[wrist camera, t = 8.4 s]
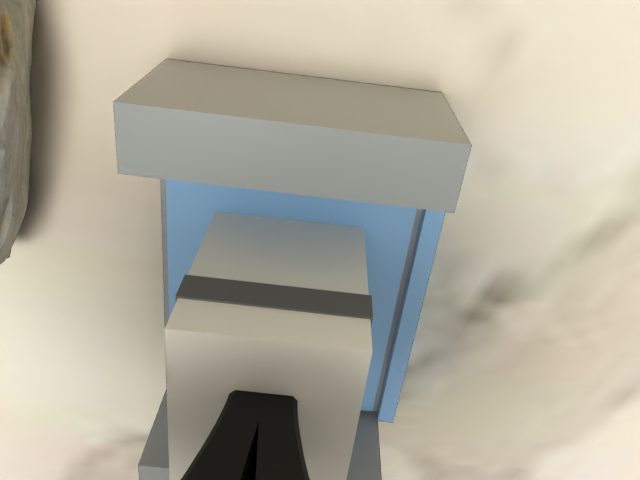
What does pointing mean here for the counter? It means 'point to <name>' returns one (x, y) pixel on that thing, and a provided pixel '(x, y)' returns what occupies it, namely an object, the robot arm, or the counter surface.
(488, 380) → the counter surface
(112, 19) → the counter surface
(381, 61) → the counter surface
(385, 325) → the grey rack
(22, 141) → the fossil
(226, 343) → the block
